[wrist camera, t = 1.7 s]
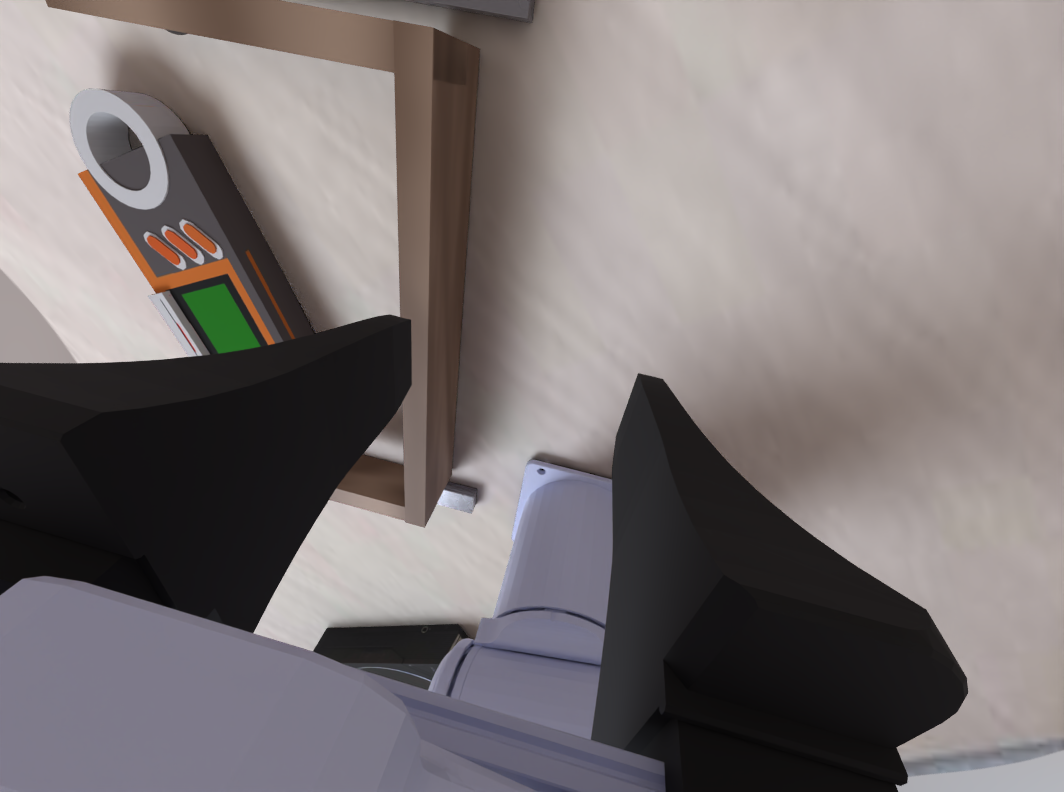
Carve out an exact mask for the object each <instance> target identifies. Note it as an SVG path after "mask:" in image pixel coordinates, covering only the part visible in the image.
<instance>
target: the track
mask: <svg viewBox="0 0 1064 792" xmlns="http://www.w3.org/2000/svg"><path fill="white" fill-rule="evenodd" d="M404 1H410V2H415V3H421V4H427V5H432V6H438V7H444V8H449V9H455V10H461V11H466V12H472V13H478V14H483V15H489V16H495V17H501V18H506V19H512V20H518V21H523V22H529V23H532V20H533V11H534V3H535V0H404ZM476 495H477V489H474V488H470V487H466V486H463V485H459V484H455V483H451V482H448V483H447V485H446V487H445V489H444V491H443V493H442V495H441V497H440V499H439V501H438V502H437V504H438V505H442V506H446V507H449V508H453V509H457V510H461V511H464V512H468V513H472V512H473V510H474V507H475V504H476Z"/></svg>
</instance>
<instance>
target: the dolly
mask: <svg viewBox="0 0 1064 792" xmlns="http://www.w3.org/2000/svg"><path fill="white" fill-rule="evenodd" d="M46 3H47V5H48V7H52V8H57V9H62V10H67V11H72V12H78V13H83V14H88V15H93V16H99V17H104V18H109V19H114V20H120V21H125V22H130V23H135V24H140V25H146V26H151V27H156V28H162V29H165V30H167V31H169V32H171V33H173V34H177V35H185V34H193V35H198V36H204V37H209V38H214V39H220V40H225V41H230V42H235V43H241V44H246V45H251V46H256V47H262V48H267V49H272V50H278V51H283V52H288V53H293V54H299V55H304V56H309V57H314V58H320V59H325V60H330V61H335V62H341V63H346V64H351V65H357V66H362V67H367V68H372V69H378V70H383V71H388V72H393V73H394V75H395V117H396V158H397V200H398V241H399V283H400V317H402V318H406V319H410V320H411V341H412V386H411V387H410V389H409V391H408V393H407V395H406V396H405V398H404V400H403V402H402V408H403V449H404V465H400V464H396V463H392V462H389V461H385V460H381V459H377V458H373V457H370V456H366V455H362V456H361V457H360V458H359V459H358V461H357V462H356V463H355V464H354V466H353V467H352V468H351V469H350V470H349V472H348V473H347V474H346V476H345V477H344V478H343V480H342V481H341V482H340V484H339V485H338V486H337V488H336V490H335V491H334V493H333V494H332V496H331V497H330V499H329V500H331V501H335V502H339V503H342V504H346V505H350V506H353V507H357V508H361V509H364V510H368V511H372V512H375V513H379V514H383V515H386V516H390V517H394V518H397V519H401V520H404V521H405V522H406V523H410V524H413V525H417V526H421V527H424V528H425V526H426V524H427V522H428V520H429V518H430V516H431V514H432V512H433V510H434V508H435V506H436V504H437V502H438V501H439V499H440V497H441V495H442V493H443V491H444V489H445V487H446V485H447V483H448V481H449V479H450V477H451V475H452V464H453V448H454V433H455V418H456V403H457V388H458V373H459V358H460V343H461V328H462V313H463V297H464V282H465V267H466V252H467V237H468V222H469V207H470V192H471V177H472V161H473V146H474V131H475V116H476V101H477V86H478V71H479V56H480V49H479V48H477V47H474V46H472V45H470V44H468V43H466V42H463V41H461V40H459V39H457V38H455V37H452V36H450V35H448V34H446V33H444V32H441V31H439V30H437V29H435V28H432V27H427V26H421V25H416V24H410V23H404V22H399V21H391V20H386V19H380V18H375V17H369V16H363V15H358V14H352V13H347V12H341V11H336V10H330V9H325V8H319V7H313V6H308V5H302V4H297V3H291V2H286V1H280V0H46Z"/></svg>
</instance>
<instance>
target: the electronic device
mask: <svg viewBox="0 0 1064 792" xmlns="http://www.w3.org/2000/svg"><path fill="white" fill-rule="evenodd" d="M129 127H130V128H131V129H132V130H133V132H134V133H135V134H136V135H137V137H138V138H139V140H140V141H141V143H142V145H143V146H141V147H139V148H136V149H134V150H131V148H130V144H129V139H128V128H129ZM70 128H71V133H72V137H73V140H74V143H75V146H76V148H77V150H78V152H79V155H80V157H81V158H82V160H83V162H84V164H85V165H86V167H87V169H88V170H86V171H83V172H81V173H79V174H78V175H79V177H80V178H81V180H82V181H83V183H84V184H85V186H86V187H87V189H88V190H89V192H90V193H91V195H92V197H93V198H94V200H95V201H96V203H97V204H98V206H99V207H100V209H101V210H102V212H103V213H104V215H105V216H106V218H107V219H108V221H109V222H110V224H111V225H112V227H113V228H114V230H115V232H116V233H117V235H118V236H119V238H120V239H121V241H122V242H123V244H124V245H125V247H126V248H127V250H128V251H129V253H130V254H131V256H132V257H133V259H134V260H135V262H136V263H137V265H138V267H139V268H140V270H141V271H142V273H143V274H144V276H145V277H146V279H147V280H148V282H149V283H150V285H151V286H152V288H153V289H154V291H155V292H156V294H152V295H149V296H148V297H149V299H150V300H151V302H152V303H153V305H154V306H155V308H156V309H157V311H158V312H159V314H160V315H161V317H162V318H163V320H164V321H165V323H166V324H167V326H168V327H169V329H170V330H171V332H172V333H173V334H174V336H175V337H176V339H177V340H178V342H179V343H180V345H181V346H182V348H183V349H184V351H185V352H186V354H187V355H188V357H193V356H202V355H211V354H219V353H226V352H232V351H238V350H244V349H250V348H256V347H261V346H266V345H271V344H275V343H280V342H284V341H288V340H292V339H296V338H300V337H304V336H308V335H312V334H314V333H313V331H312V329H311V327H310V325H309V323H308V321H307V319H306V317H305V315H304V313H303V311H302V309H301V307H300V305H299V303H298V301H297V299H296V297H295V295H294V293H293V291H292V289H291V287H290V286H289V284H288V282H287V280H286V278H285V276H284V274H283V272H282V270H281V268H280V266H279V264H278V262H277V260H276V259H275V257H274V255H273V253H272V251H271V250H270V248H269V246H268V244H267V242H266V240H265V239H264V237H263V235H262V233H261V231H260V230H259V228H258V226H257V224H256V222H255V221H254V219H253V217H252V215H251V213H250V211H249V210H248V208H247V206H246V204H245V202H244V201H243V199H242V197H241V195H240V193H239V191H238V190H237V188H236V186H235V184H234V182H233V181H232V179H231V177H230V175H229V173H228V171H227V170H226V168H225V166H224V164H223V162H222V161H221V159H220V157H219V155H218V153H217V151H216V150H215V148H214V146H213V144H212V142H211V141H210V139H209V137H208V135H190V133H189V132H188V130H187V128H186V127H185V126H184V124H183V123H182V122H181V120H180V119H179V118H178V117H177V116H176V115H175V114H174V113H173V112H172V111H171V110H170V109H169V108H168V107H167V106H166V105H164V104H163V103H162V102H160V101H159V100H157V99H155V98H153V97H151V96H148V95H145V94H142V93H133V92H123V91H114V90H105V89H86V90H83V91H81V92H80V93H78V94H77V95H76V96H75V98H74V100H73V101H72V104H71V108H70Z"/></svg>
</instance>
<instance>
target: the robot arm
mask: <svg viewBox="0 0 1064 792" xmlns="http://www.w3.org/2000/svg"><path fill="white" fill-rule="evenodd" d="M411 386H412V341H411V320H410V319H406V318H402V317H397V316H393V315H383V316H378V317H374V318H370V319H366V320H362V321H358V322H355V323H351V324H348V325H344V326H341V327H337V328H334V329H330V330H327V331H323V332H320V333H316V334H312V335H308V336H304V337H300V338H296V339H292V340H288V341H284V342H280V343H275V344H271V345H266V346H261V347H256V348H250V349H244V350H238V351H232V352H226V353H219V354H211V355H202V356H193V357H183V358H174V359H164V360H150V361H134V362H112V363H76V364H75V363H74V364H73V363H71V364H70V363H66V364H64V363H62V364H61V363H0V792H898V790H897V788H896V785H900V786H901V785H904V784H906V783H907V779H908V774H907V772H906V770H905V767H904V765H903V763H902V760H901V758H900V755H899V753H898V751H897V748H896V747H898V746H900V745H902V744H904V743H905V742H907V741H909V740H911V739H913V738H915V737H917V736H919V735H921V734H922V733H924V732H926V731H928V730H930V729H932V728H934V727H936V726H937V725H939V724H941V723H943V722H944V721H946V720H947V719H948V718H950V717H951V716H952V715H954V714H955V713H956V712H957V711H958V710H959V708H960V706H961V705H962V703H963V701H964V699H965V697H966V696H967V694H968V686H967V677H966V676H965V674H964V672H963V671H962V669H961V667H960V666H959V664H958V662H957V661H956V659H955V657H954V655H953V654H952V652H951V650H950V649H949V647H948V645H947V644H946V642H945V640H944V639H943V637H942V635H941V634H940V632H939V630H938V628H937V627H936V625H935V623H934V622H933V620H932V618H931V617H930V615H929V613H928V612H927V610H926V609H924V608H923V607H921V606H919V605H918V604H916V603H915V602H913V601H911V600H910V599H908V598H907V597H905V596H903V595H902V594H900V593H898V592H897V591H895V590H894V589H892V588H890V587H889V586H887V585H886V584H884V583H882V582H881V581H879V580H878V579H876V578H874V577H873V576H871V575H870V574H868V573H866V572H865V571H863V570H862V569H860V568H858V567H857V566H855V565H854V564H852V563H851V562H849V561H848V560H847V559H845V558H844V557H842V556H841V555H839V554H838V553H837V552H835V551H834V550H832V549H831V548H829V547H828V546H827V545H825V544H824V543H822V542H821V541H819V540H818V539H817V538H815V537H814V536H813V535H811V534H810V533H809V532H807V531H806V530H805V529H803V528H802V527H801V526H799V525H798V524H797V523H795V522H794V521H793V520H792V519H790V518H789V517H788V516H787V515H786V514H784V513H783V512H782V511H781V510H780V509H778V508H777V507H776V506H775V505H773V504H772V503H771V502H770V501H769V500H767V499H766V498H765V497H764V496H763V495H762V494H761V493H759V492H758V491H757V490H756V489H755V488H754V487H753V486H752V485H751V484H750V483H749V482H748V481H747V480H746V479H745V478H744V477H742V476H741V475H740V474H739V473H738V472H737V471H736V470H735V469H734V468H733V467H732V466H731V465H730V464H729V463H728V462H727V461H726V459H725V458H724V457H723V456H722V455H721V454H720V453H719V452H718V451H717V449H716V448H715V447H714V446H713V445H712V444H711V442H710V441H709V440H708V439H707V438H706V437H705V435H704V434H703V433H702V432H701V430H700V429H699V428H698V427H697V425H696V424H695V423H694V421H693V420H692V419H691V417H690V416H689V415H688V413H687V412H686V411H685V409H684V408H683V407H682V405H681V404H680V402H679V401H678V399H677V398H676V397H675V395H674V394H673V392H672V391H671V390H670V388H669V387H668V385H667V384H666V383H665V381H664V380H663V379H660V378H656V377H652V376H648V375H643V374H639V373H638V375H637V378H636V381H635V384H634V387H633V389H632V392H631V395H630V398H629V401H628V404H627V407H626V409H625V412H624V415H623V418H622V421H621V424H620V426H619V429H618V432H617V435H616V441H615V449H614V456H613V465H612V479H608V478H604V477H600V476H596V475H592V474H589V473H585V472H581V471H577V470H573V469H569V468H565V467H561V466H557V465H553V464H550V463H546V462H542V461H538V460H530V461H528V463H527V465H526V469H525V474H524V479H523V483H522V488H521V493H520V498H519V503H518V508H517V513H516V518H515V523H514V528H513V533H512V540H513V541H514V544H513V547H512V551H511V554H510V558H509V561H508V565H507V568H506V572H505V576H504V579H503V583H502V586H501V590H500V593H499V597H498V600H497V604H496V608H495V611H494V615H493V618H482V619H481V621H480V625H479V628H478V631H477V634H476V638H475V640H473V639H469V638H466V639H462V640H461V641H459V642H458V643H457V644H456V645H455V646H454V648H453V649H452V650H451V651H450V652H449V653H448V654H447V655H446V656H445V657H444V658H443V660H442V661H441V663H440V665H439V666H438V668H437V670H436V672H435V674H434V677H433V679H432V681H431V684H430V687H429V689H428V690H425V689H422V688H419V687H415V686H412V685H409V684H405V683H402V682H399V681H396V680H392V679H389V678H386V677H383V676H379V675H376V674H373V673H369V672H366V671H363V670H360V669H356V668H353V667H350V666H346V665H344V664H341V663H339V662H337V661H334V660H332V659H330V658H327V657H325V656H323V655H320V654H318V653H315V652H313V651H310V650H306V649H303V648H300V647H296V646H293V645H290V644H286V643H283V642H280V641H277V640H273V639H270V638H267V637H263V636H260V635H257V634H254V633H253V632H254V631H255V629H256V627H257V625H258V623H259V621H260V619H261V617H262V615H263V613H264V611H265V609H266V607H267V605H268V603H269V602H270V600H271V598H272V596H273V594H274V592H275V590H276V588H277V587H278V585H279V583H280V581H281V579H282V578H283V576H284V574H285V572H286V571H287V569H288V567H289V565H290V563H291V562H292V560H293V558H294V556H295V554H296V553H297V551H298V549H299V548H300V546H301V544H302V543H303V541H304V539H305V538H306V536H307V534H308V533H309V531H310V529H311V528H312V526H313V524H314V523H315V521H316V519H317V518H318V516H319V515H320V513H321V511H322V510H323V508H324V507H325V505H326V504H327V502H328V500H329V499H330V497H331V496H332V494H333V493H334V491H335V490H336V488H337V486H338V485H339V484H340V482H341V481H342V480H343V478H344V477H345V476H346V474H347V473H348V472H349V470H350V469H351V468H352V467H353V466H354V464H355V463H356V462H357V461H358V459H359V458H360V457H361V456H362V454H363V453H364V452H365V451H366V450H367V448H368V447H369V446H370V445H371V443H372V442H373V441H374V440H375V439H376V437H377V436H378V435H379V434H380V432H381V431H382V430H383V429H384V427H385V426H386V425H387V424H388V422H389V421H390V420H391V418H392V417H393V416H394V415H395V413H396V412H397V410H398V408H399V407H400V405H401V403H402V402H403V400H404V398H405V396H406V395H407V393H408V391H409V389H410V387H411ZM540 468H542V469H544V470H540ZM895 784H896V785H895Z"/></svg>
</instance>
